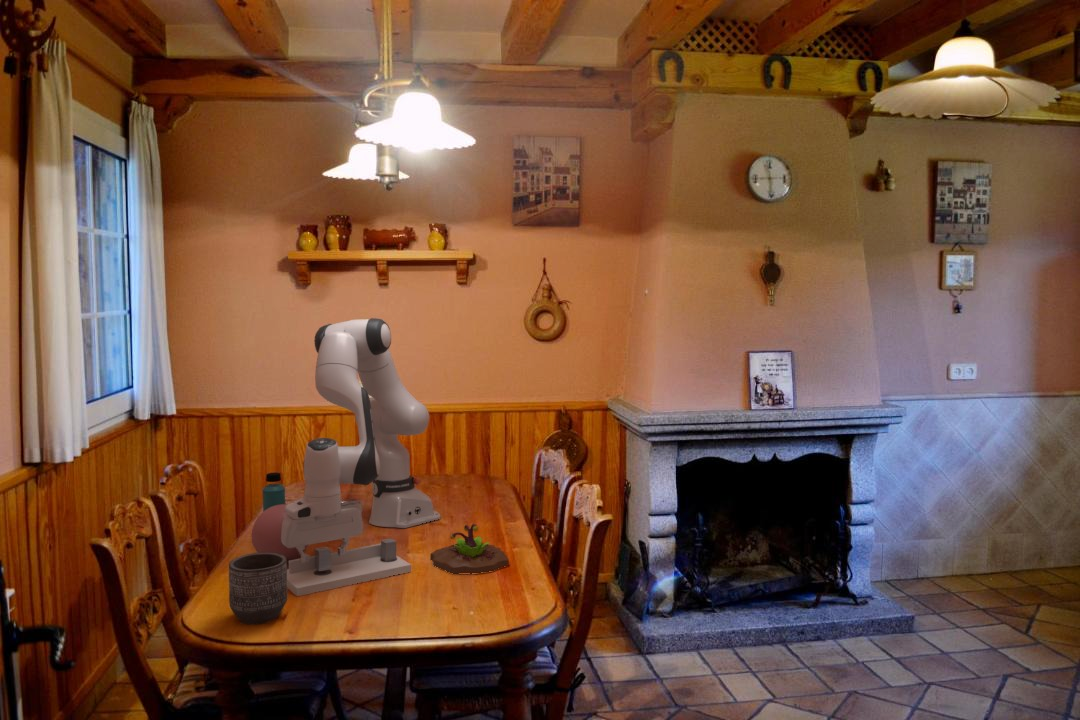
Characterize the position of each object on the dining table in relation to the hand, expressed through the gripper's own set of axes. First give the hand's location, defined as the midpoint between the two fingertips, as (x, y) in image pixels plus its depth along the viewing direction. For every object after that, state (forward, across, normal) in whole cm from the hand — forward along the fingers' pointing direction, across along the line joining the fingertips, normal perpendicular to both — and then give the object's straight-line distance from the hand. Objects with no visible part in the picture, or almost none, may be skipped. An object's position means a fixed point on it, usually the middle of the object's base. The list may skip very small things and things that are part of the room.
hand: (323, 558), depth 202 cm
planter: (+6, +20, +14) cm, 25 cm away
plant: (+6, -38, +9) cm, 39 cm away
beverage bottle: (+6, 0, -38) cm, 38 cm away
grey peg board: (+6, -6, 0) cm, 8 cm away
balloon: (+6, +2, -18) cm, 19 cm away
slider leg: (+3, 0, -1) cm, 3 cm away
